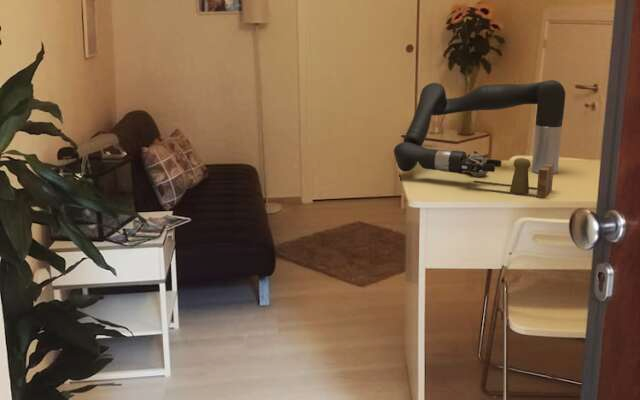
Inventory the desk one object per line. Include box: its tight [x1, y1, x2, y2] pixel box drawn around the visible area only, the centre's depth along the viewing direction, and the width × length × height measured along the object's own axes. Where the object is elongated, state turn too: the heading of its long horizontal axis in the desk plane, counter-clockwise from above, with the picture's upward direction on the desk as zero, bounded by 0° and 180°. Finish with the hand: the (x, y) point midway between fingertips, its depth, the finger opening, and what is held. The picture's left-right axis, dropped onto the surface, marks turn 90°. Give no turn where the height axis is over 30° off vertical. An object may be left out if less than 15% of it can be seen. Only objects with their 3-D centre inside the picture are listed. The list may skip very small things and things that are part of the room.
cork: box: [509, 157, 531, 194], centre depth 231 cm, size 6×6×11 cm
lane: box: [465, 163, 554, 199], centre depth 235 cm, size 12×26×9 cm, turn 62°
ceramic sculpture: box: [465, 151, 489, 178], centre depth 258 cm, size 11×9×15 cm
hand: (497, 166), depth 236 cm, fingers open, 8 cm apart
